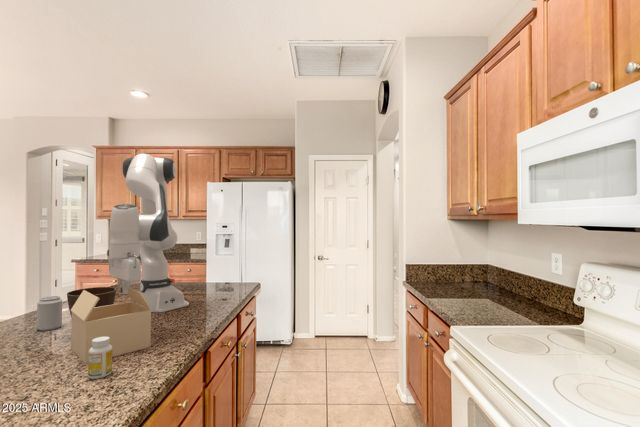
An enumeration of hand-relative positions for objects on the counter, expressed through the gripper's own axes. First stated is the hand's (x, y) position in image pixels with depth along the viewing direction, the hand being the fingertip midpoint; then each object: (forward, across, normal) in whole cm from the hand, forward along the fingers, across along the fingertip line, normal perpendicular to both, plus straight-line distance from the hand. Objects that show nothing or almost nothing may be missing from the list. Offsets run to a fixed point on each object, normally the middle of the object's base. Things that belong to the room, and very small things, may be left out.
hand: (124, 292), depth 112 cm
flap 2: (+2, 0, -3) cm, 4 cm away
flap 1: (+2, 0, +11) cm, 11 cm away
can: (+17, +40, +14) cm, 46 cm away
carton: (+17, 0, +4) cm, 18 cm away
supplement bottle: (+17, -20, +12) cm, 29 cm away
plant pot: (+17, +19, +5) cm, 26 cm away
